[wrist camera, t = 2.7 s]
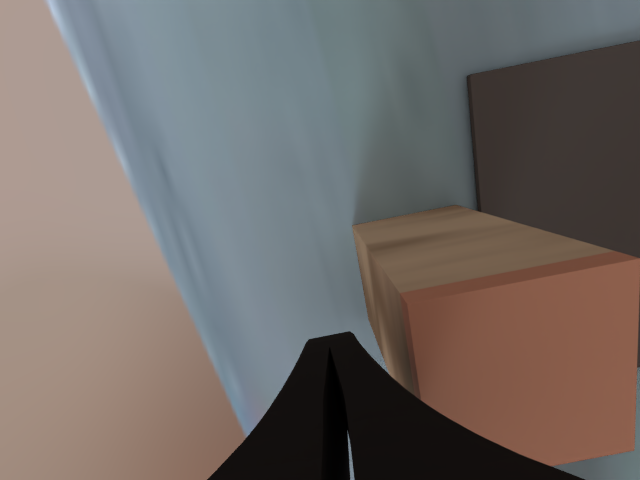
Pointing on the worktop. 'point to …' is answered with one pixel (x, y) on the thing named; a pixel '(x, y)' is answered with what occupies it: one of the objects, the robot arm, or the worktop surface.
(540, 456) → the maple block
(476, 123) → the rubber mat
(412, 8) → the worktop surface
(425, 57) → the worktop surface
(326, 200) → the worktop surface
